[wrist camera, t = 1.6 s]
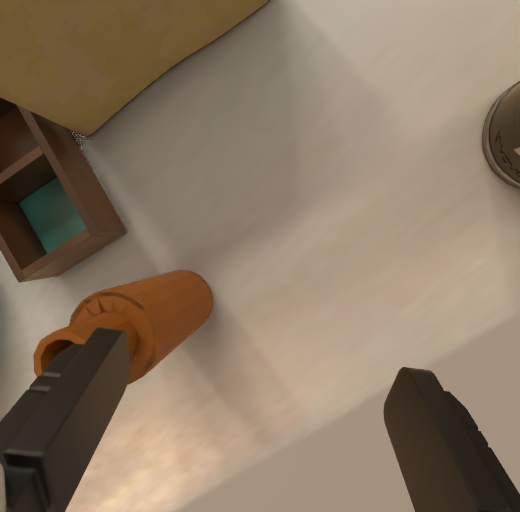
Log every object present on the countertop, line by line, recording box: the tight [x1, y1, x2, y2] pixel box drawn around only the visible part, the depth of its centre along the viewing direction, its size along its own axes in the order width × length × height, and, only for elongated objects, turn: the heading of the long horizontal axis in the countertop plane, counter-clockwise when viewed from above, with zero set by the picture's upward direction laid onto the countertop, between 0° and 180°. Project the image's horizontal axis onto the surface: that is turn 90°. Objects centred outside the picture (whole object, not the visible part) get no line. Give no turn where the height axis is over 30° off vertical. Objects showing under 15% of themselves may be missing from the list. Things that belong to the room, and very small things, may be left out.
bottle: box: [34, 270, 213, 385], centre depth 23 cm, size 6×6×16 cm
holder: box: [0, 97, 127, 282], centre depth 30 cm, size 9×17×5 cm, turn 30°
